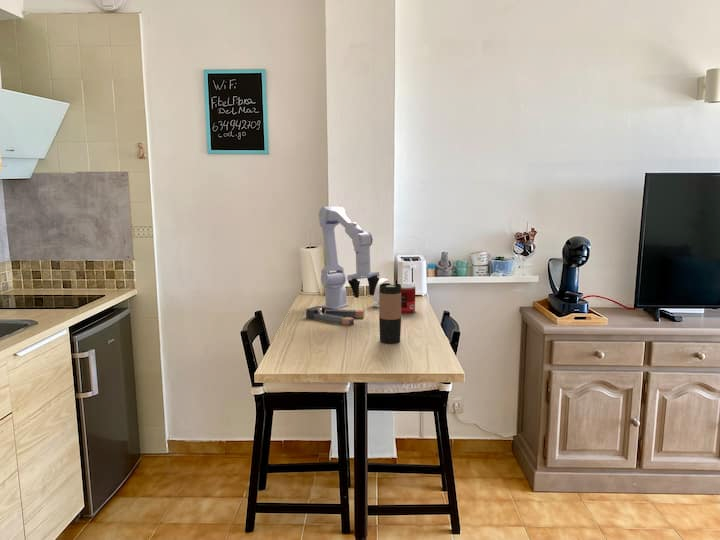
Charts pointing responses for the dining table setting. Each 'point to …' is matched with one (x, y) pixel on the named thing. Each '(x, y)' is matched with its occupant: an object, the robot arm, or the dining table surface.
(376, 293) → the headphone stand
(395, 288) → the travel mug
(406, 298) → the canned food
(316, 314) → the tongs base
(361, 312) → the tong arm
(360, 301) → the dining table surface
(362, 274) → the robot arm
